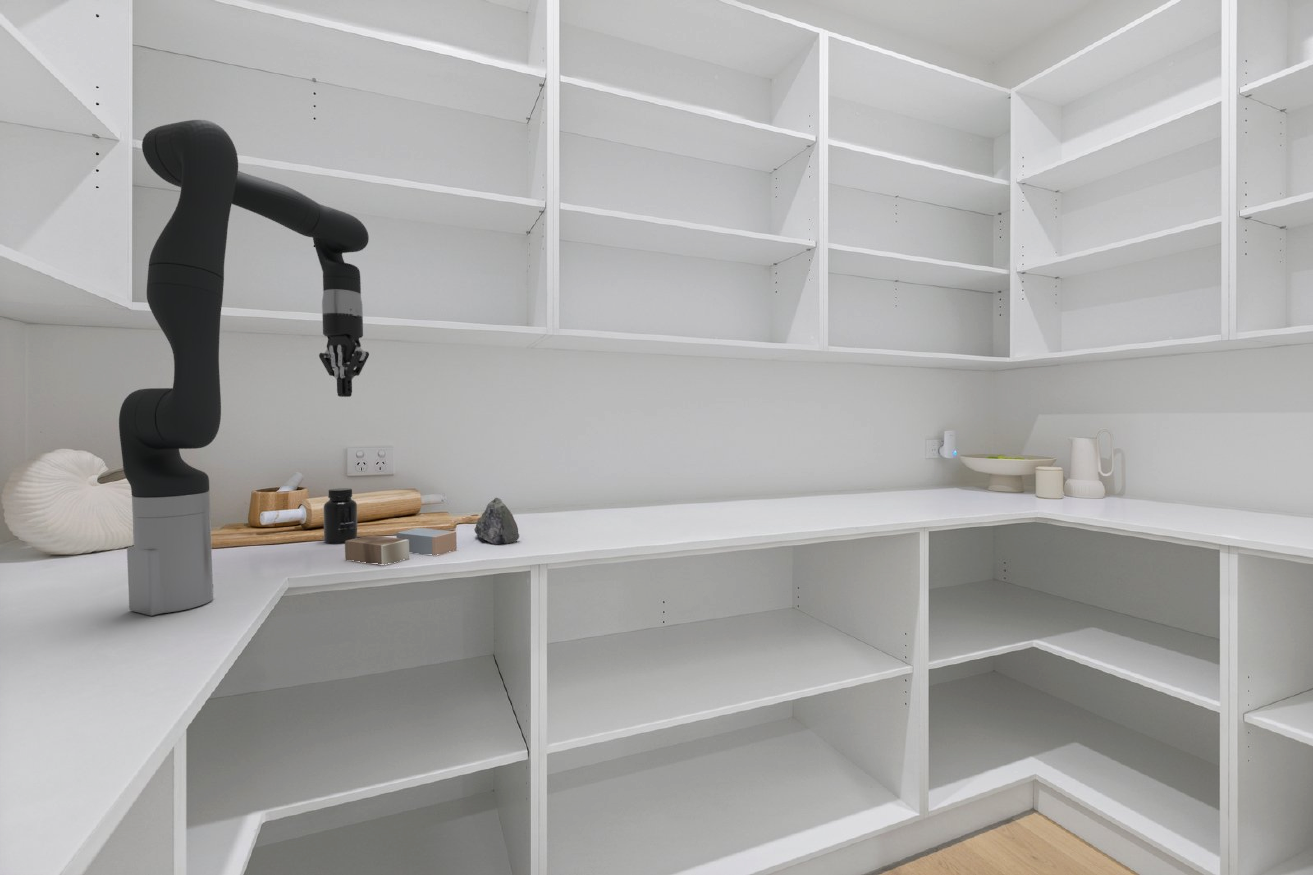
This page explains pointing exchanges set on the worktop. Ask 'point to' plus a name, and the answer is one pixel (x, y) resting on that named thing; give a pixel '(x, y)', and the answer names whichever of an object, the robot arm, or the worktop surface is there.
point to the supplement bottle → (340, 516)
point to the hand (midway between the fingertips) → (344, 396)
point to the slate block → (429, 540)
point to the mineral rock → (497, 524)
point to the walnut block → (377, 549)
